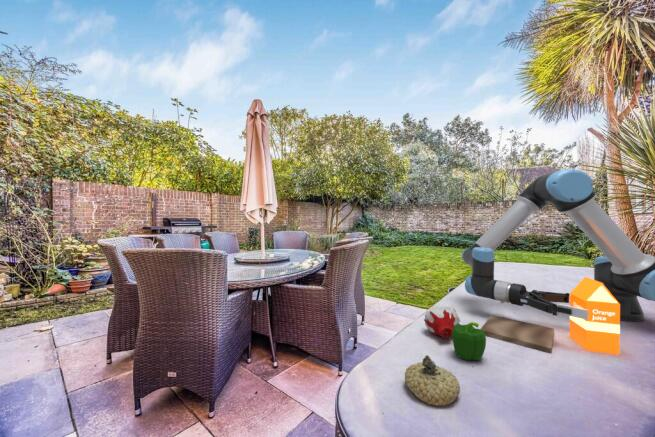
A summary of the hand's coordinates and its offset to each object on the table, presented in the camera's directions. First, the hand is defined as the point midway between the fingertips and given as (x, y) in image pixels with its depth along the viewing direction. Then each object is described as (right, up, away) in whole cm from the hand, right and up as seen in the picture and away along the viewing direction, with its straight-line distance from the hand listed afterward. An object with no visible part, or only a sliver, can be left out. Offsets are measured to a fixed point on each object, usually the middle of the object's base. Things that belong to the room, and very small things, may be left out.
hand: (592, 309), depth 79 cm
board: (-17, -11, +8) cm, 22 cm away
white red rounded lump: (-42, -11, +7) cm, 44 cm away
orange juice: (0, -11, 0) cm, 11 cm away
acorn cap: (-57, -11, -20) cm, 62 cm away
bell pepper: (-41, -11, -6) cm, 43 cm away
